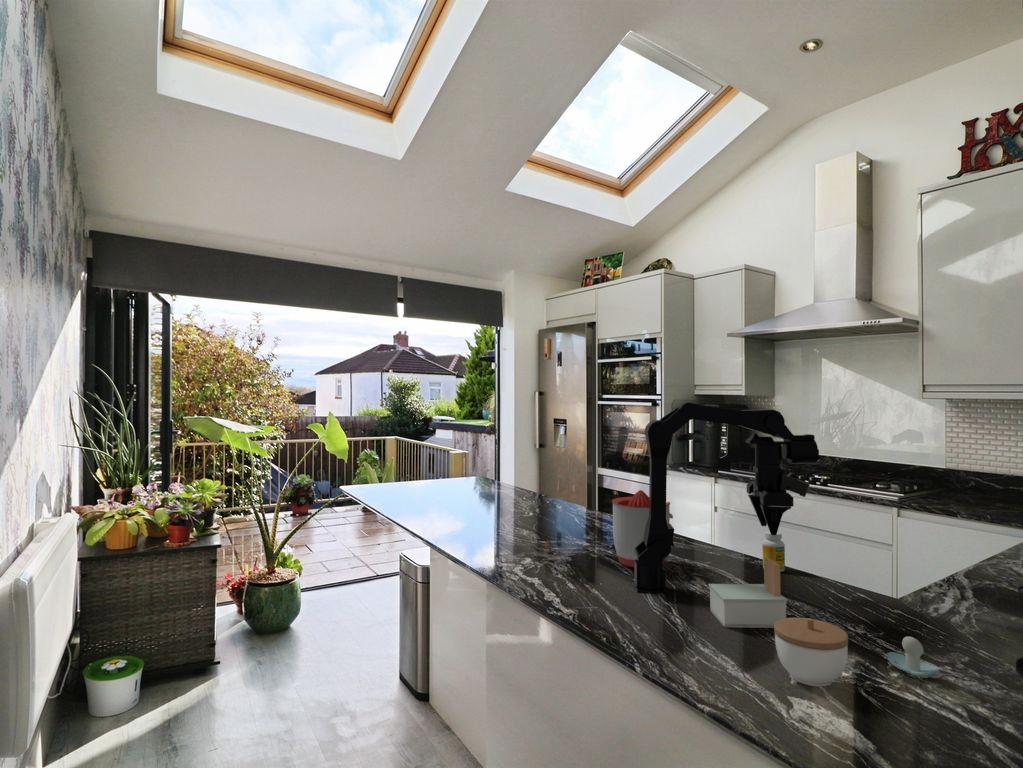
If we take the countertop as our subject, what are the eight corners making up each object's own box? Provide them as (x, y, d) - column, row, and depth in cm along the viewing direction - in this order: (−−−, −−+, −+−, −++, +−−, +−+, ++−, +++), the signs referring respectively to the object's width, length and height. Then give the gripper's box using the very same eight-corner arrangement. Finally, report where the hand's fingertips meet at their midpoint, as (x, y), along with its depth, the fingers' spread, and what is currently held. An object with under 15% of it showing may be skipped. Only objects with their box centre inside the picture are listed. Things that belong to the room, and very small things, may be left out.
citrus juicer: (688, 567, 156) (687, 492, 157) (632, 575, 150) (632, 496, 150) (653, 553, 171) (653, 484, 171) (601, 559, 164) (601, 487, 165)
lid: (723, 607, 116) (723, 568, 116) (708, 591, 125) (708, 555, 125) (787, 607, 115) (786, 568, 115) (767, 591, 125) (767, 555, 125)
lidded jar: (768, 682, 93) (768, 622, 94) (780, 657, 102) (779, 603, 103) (846, 701, 88) (845, 638, 88) (851, 673, 96) (850, 615, 97)
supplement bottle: (770, 565, 158) (770, 529, 158) (789, 570, 154) (788, 533, 154) (758, 568, 155) (758, 532, 155) (777, 573, 151) (776, 536, 151)
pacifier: (900, 661, 101) (883, 669, 98) (900, 624, 101) (883, 631, 98) (950, 678, 95) (933, 687, 92) (950, 639, 95) (933, 646, 92)
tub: (724, 627, 116) (724, 601, 116) (710, 610, 125) (710, 587, 125) (786, 627, 115) (785, 602, 115) (767, 611, 124) (767, 587, 124)
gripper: (818, 469, 126) (819, 542, 126) (793, 459, 145) (794, 523, 144) (763, 467, 128) (764, 539, 128) (746, 458, 147) (746, 521, 146)
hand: (768, 530), depth 137 cm, fingers open, 9 cm apart
